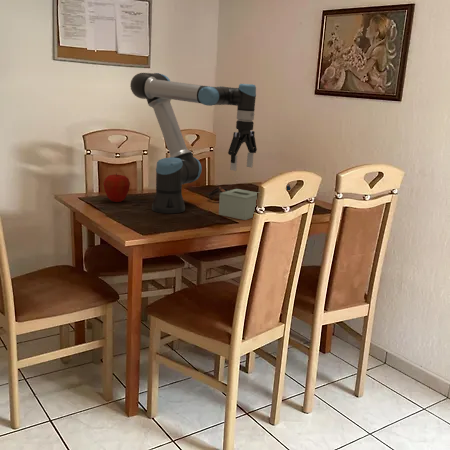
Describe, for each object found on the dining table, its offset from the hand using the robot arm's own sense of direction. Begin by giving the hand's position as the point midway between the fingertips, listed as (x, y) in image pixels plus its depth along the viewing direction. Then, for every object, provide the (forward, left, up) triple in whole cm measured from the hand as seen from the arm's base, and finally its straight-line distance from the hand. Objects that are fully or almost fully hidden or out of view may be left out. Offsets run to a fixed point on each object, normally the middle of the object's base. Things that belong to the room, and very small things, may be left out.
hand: (241, 168), depth 237 cm
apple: (-21, +57, -21) cm, 64 cm away
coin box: (0, 0, -21) cm, 21 cm away
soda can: (+24, -9, -21) cm, 34 cm away
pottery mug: (+17, +22, -22) cm, 35 cm away
